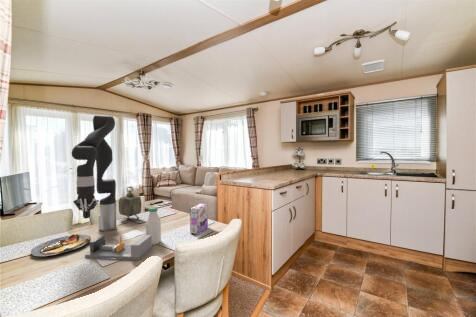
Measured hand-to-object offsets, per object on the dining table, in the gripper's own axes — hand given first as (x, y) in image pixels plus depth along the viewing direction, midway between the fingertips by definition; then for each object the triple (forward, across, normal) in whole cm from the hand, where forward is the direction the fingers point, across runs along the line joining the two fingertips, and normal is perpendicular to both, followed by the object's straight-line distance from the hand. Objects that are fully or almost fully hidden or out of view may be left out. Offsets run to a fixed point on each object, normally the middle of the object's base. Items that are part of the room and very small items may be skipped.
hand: (86, 218), depth 109 cm
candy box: (+18, -50, -34) cm, 63 cm away
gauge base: (+18, -18, 0) cm, 25 cm away
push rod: (+16, -11, 0) cm, 19 cm away
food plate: (+18, +17, -3) cm, 25 cm away
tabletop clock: (+18, +9, -50) cm, 54 cm away
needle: (+16, -18, 0) cm, 24 cm away
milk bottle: (+18, -29, -14) cm, 37 cm away
